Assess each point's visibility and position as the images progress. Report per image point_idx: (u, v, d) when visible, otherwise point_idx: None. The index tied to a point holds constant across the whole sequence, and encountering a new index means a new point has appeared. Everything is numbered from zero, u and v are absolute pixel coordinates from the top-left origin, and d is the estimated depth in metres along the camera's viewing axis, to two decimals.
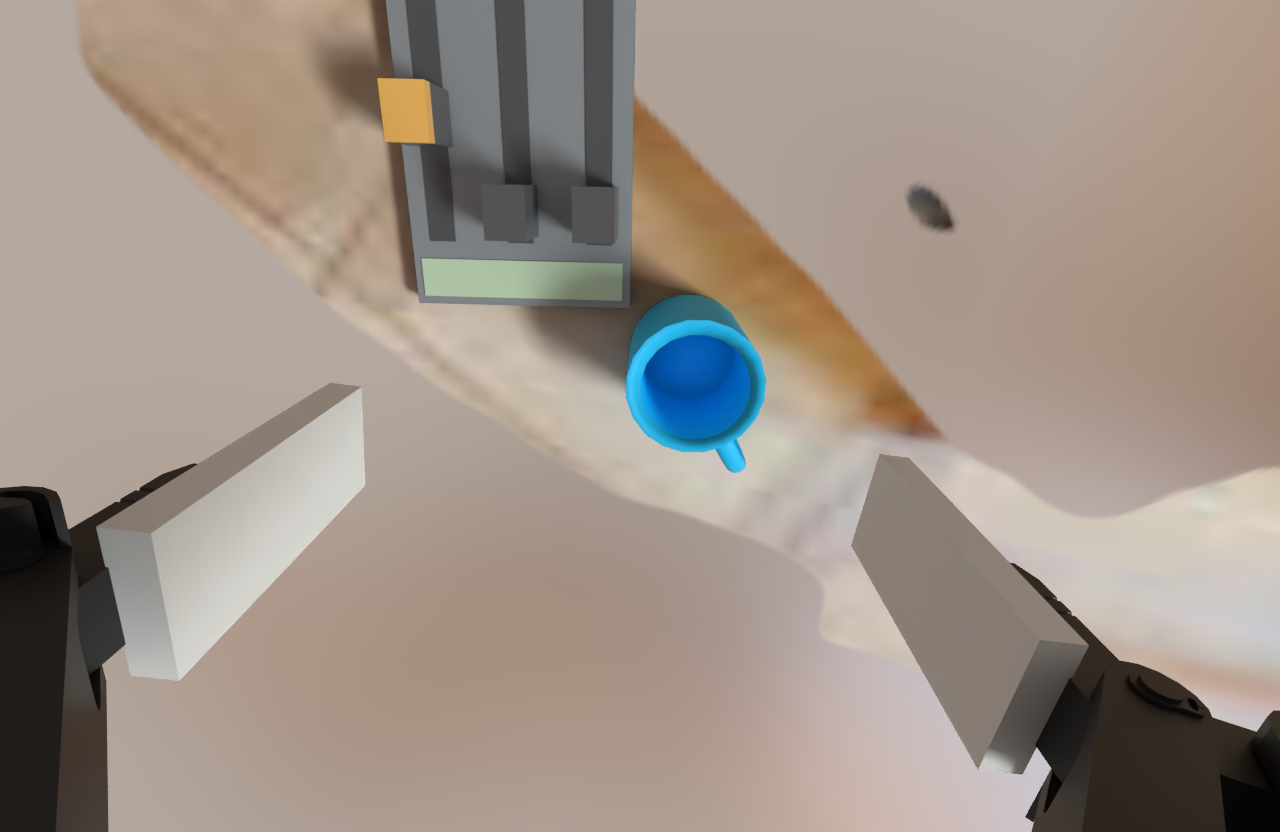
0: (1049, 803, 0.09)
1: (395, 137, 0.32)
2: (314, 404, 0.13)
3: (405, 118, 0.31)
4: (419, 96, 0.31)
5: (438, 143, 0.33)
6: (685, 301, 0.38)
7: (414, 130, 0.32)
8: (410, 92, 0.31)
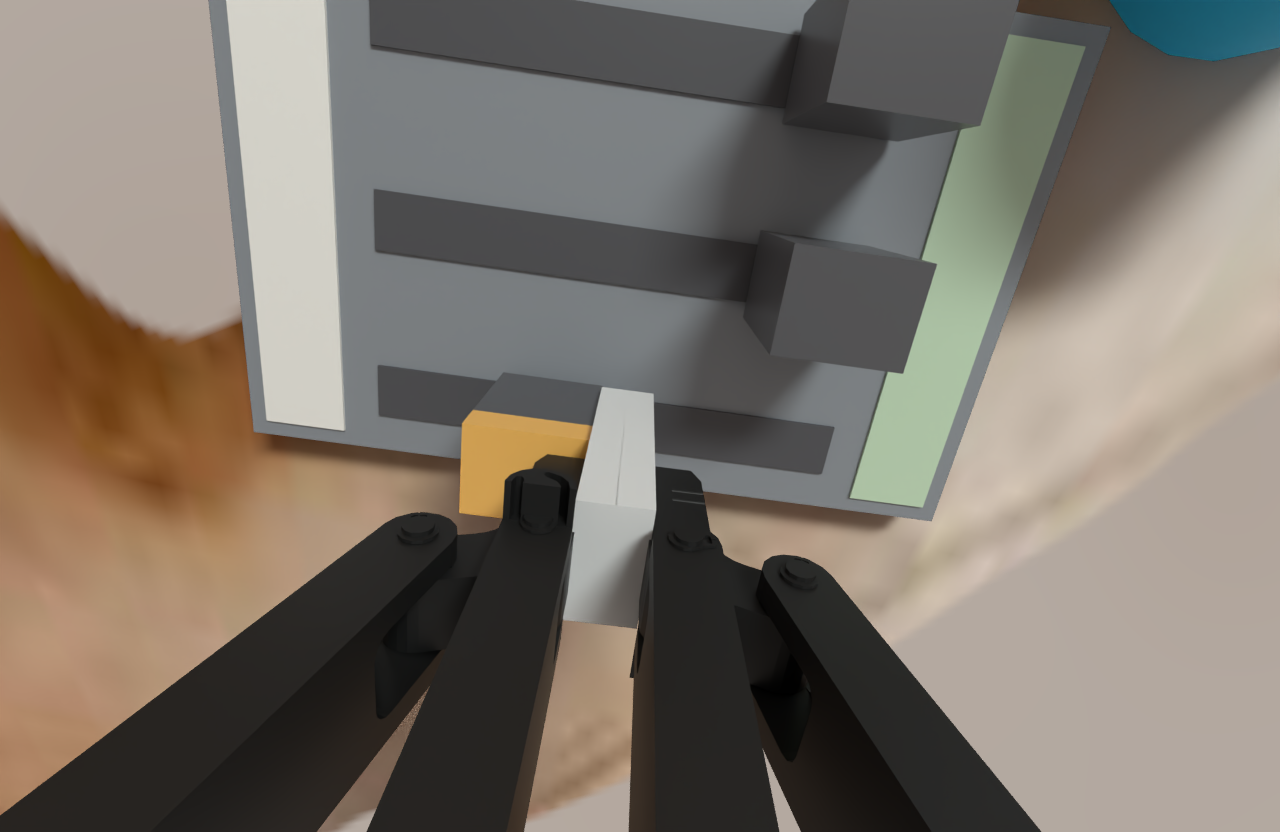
0: (640, 662, 0.10)
1: None
2: (610, 404, 0.15)
3: None
4: (496, 438, 0.14)
5: (594, 417, 0.15)
6: None
7: None
8: (487, 455, 0.14)
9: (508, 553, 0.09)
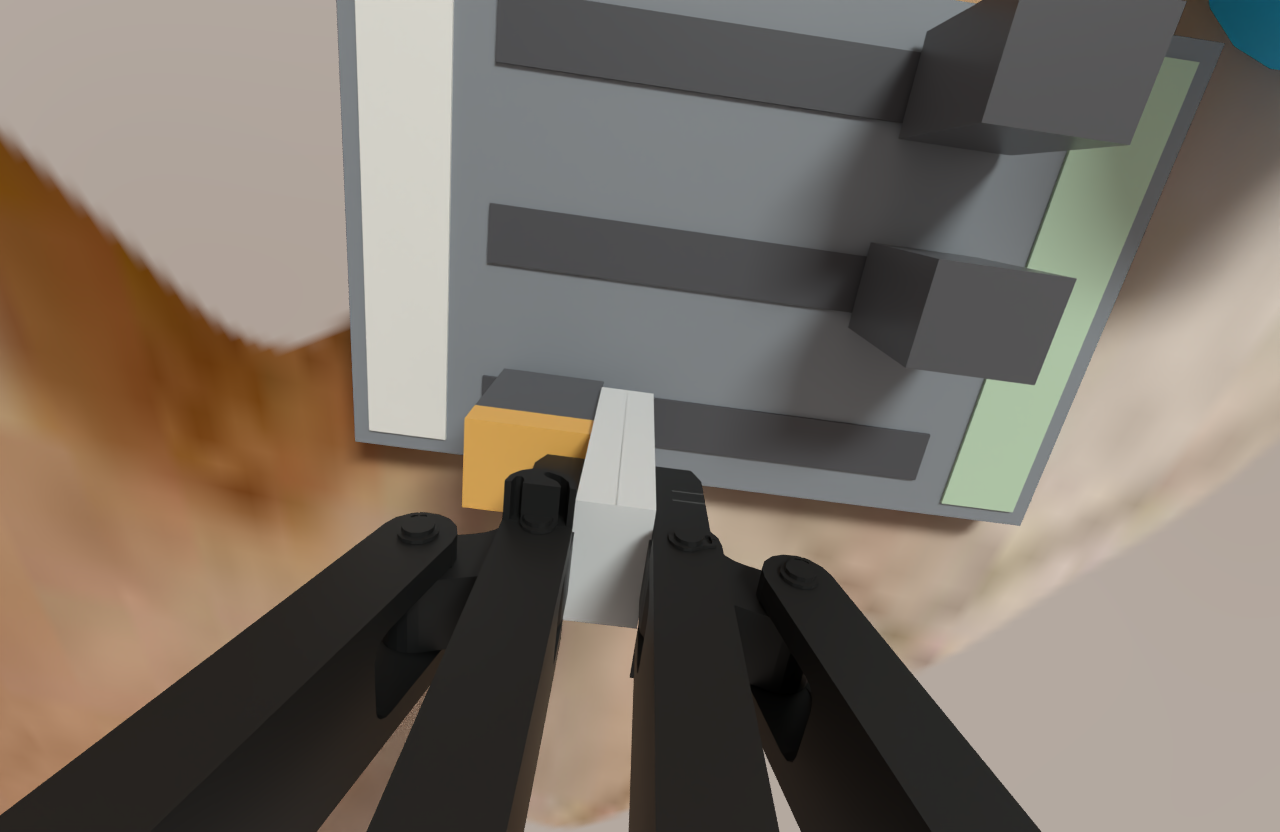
0: (640, 662, 0.10)
1: None
2: (610, 405, 0.15)
3: None
4: (498, 432, 0.14)
5: (594, 412, 0.15)
6: None
7: None
8: (490, 450, 0.14)
9: (508, 553, 0.09)
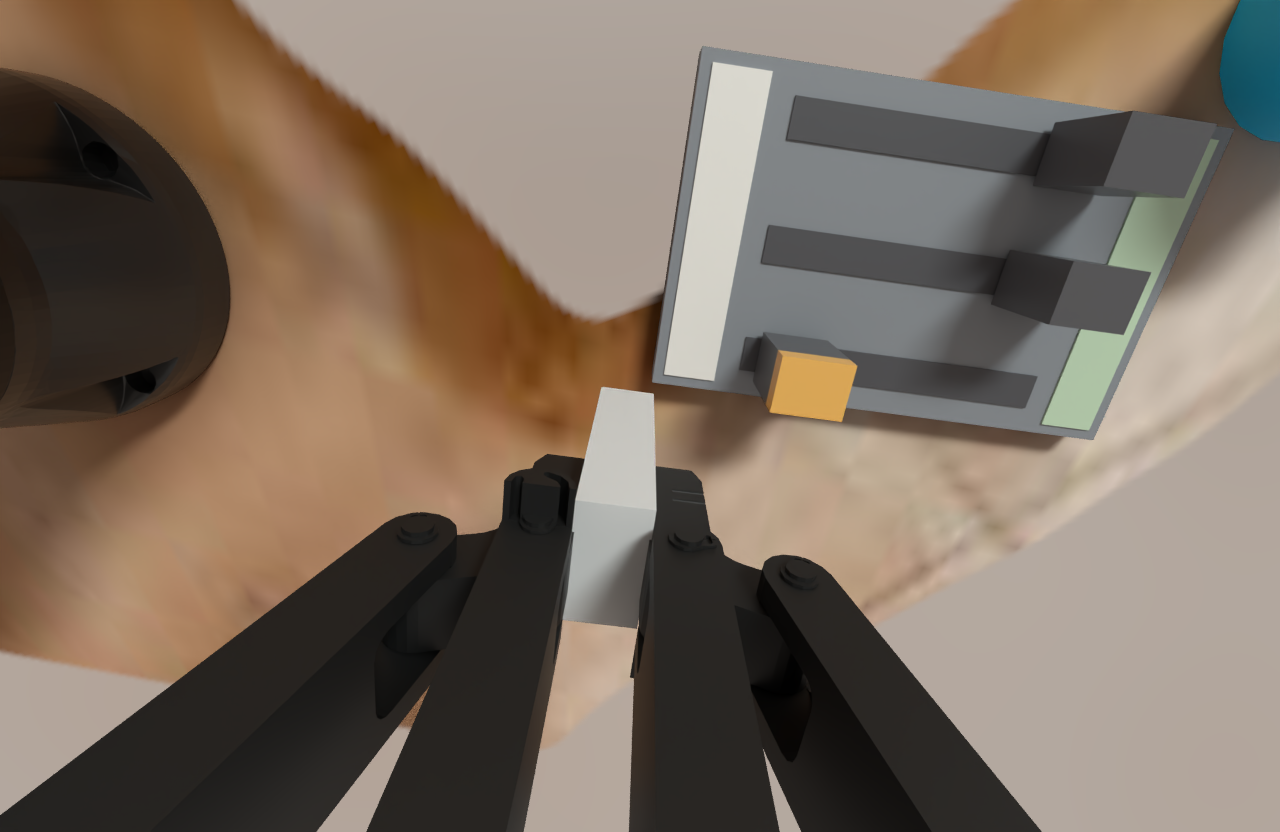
0: (640, 662, 0.10)
1: (840, 407, 0.24)
2: (610, 404, 0.15)
3: (821, 389, 0.24)
4: (801, 365, 0.23)
5: (844, 355, 0.25)
6: None
7: (838, 381, 0.24)
8: (793, 376, 0.24)
9: (508, 553, 0.09)
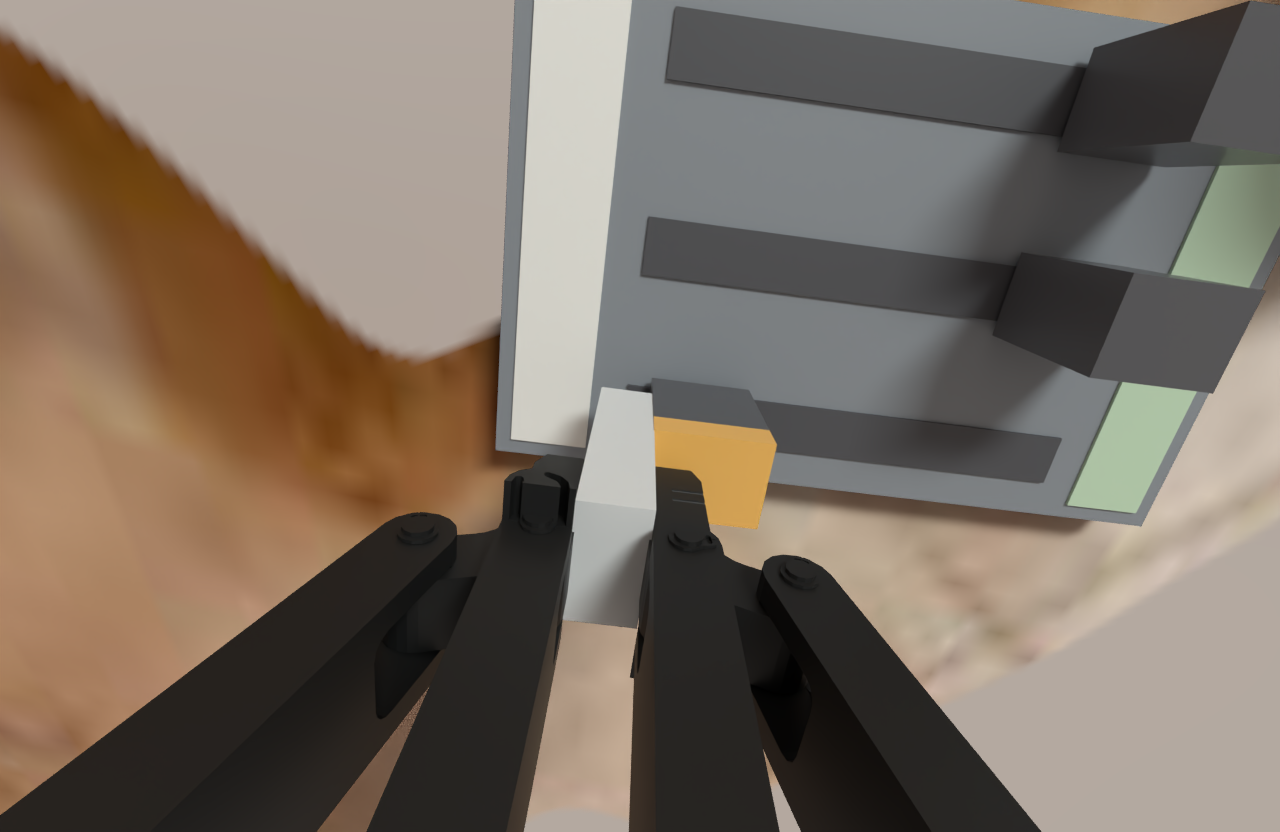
0: (640, 662, 0.10)
1: (753, 508, 0.15)
2: (610, 405, 0.15)
3: (721, 481, 0.15)
4: (685, 444, 0.14)
5: (763, 421, 0.16)
6: None
7: (747, 469, 0.15)
8: (675, 460, 0.15)
9: (508, 553, 0.09)
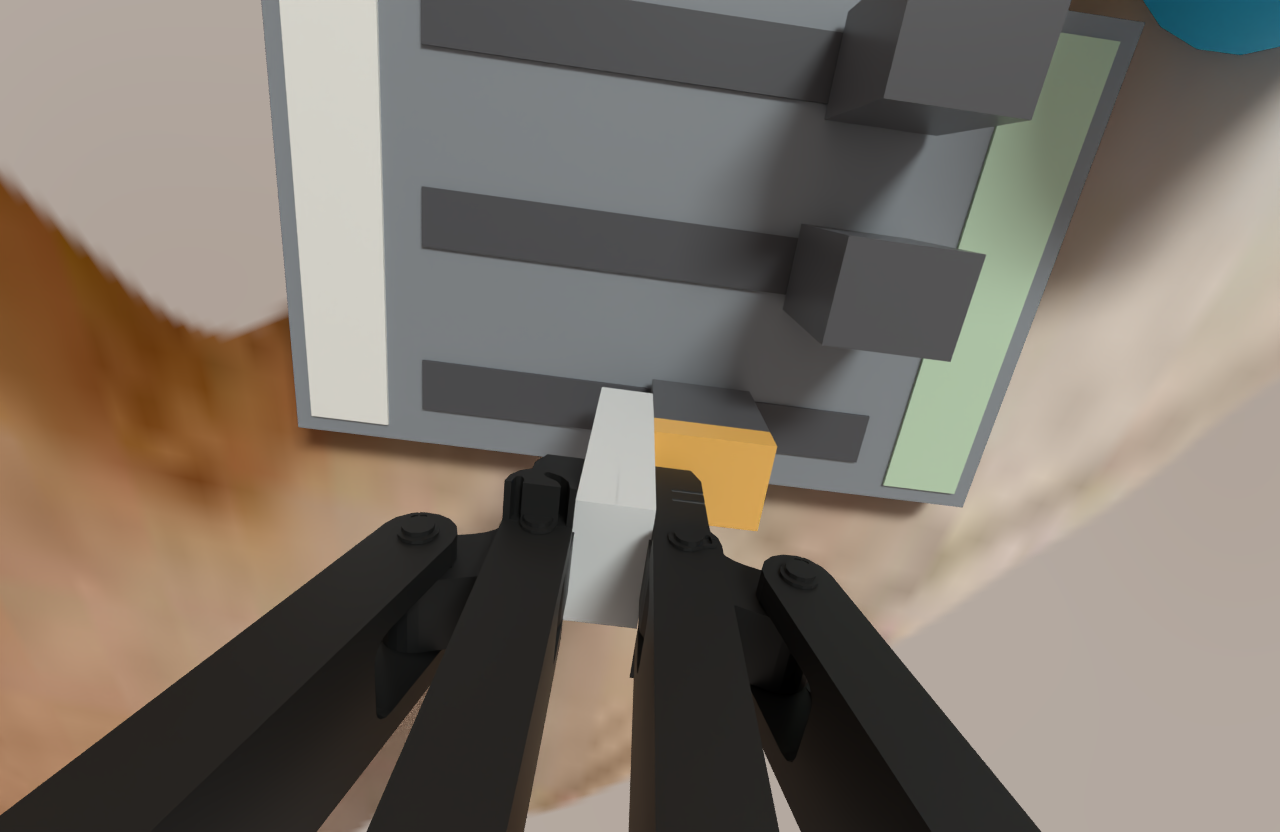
0: (640, 662, 0.10)
1: (753, 510, 0.15)
2: (610, 404, 0.15)
3: (721, 482, 0.15)
4: (685, 446, 0.14)
5: (763, 423, 0.16)
6: None
7: (747, 470, 0.15)
8: (675, 462, 0.15)
9: (508, 553, 0.09)
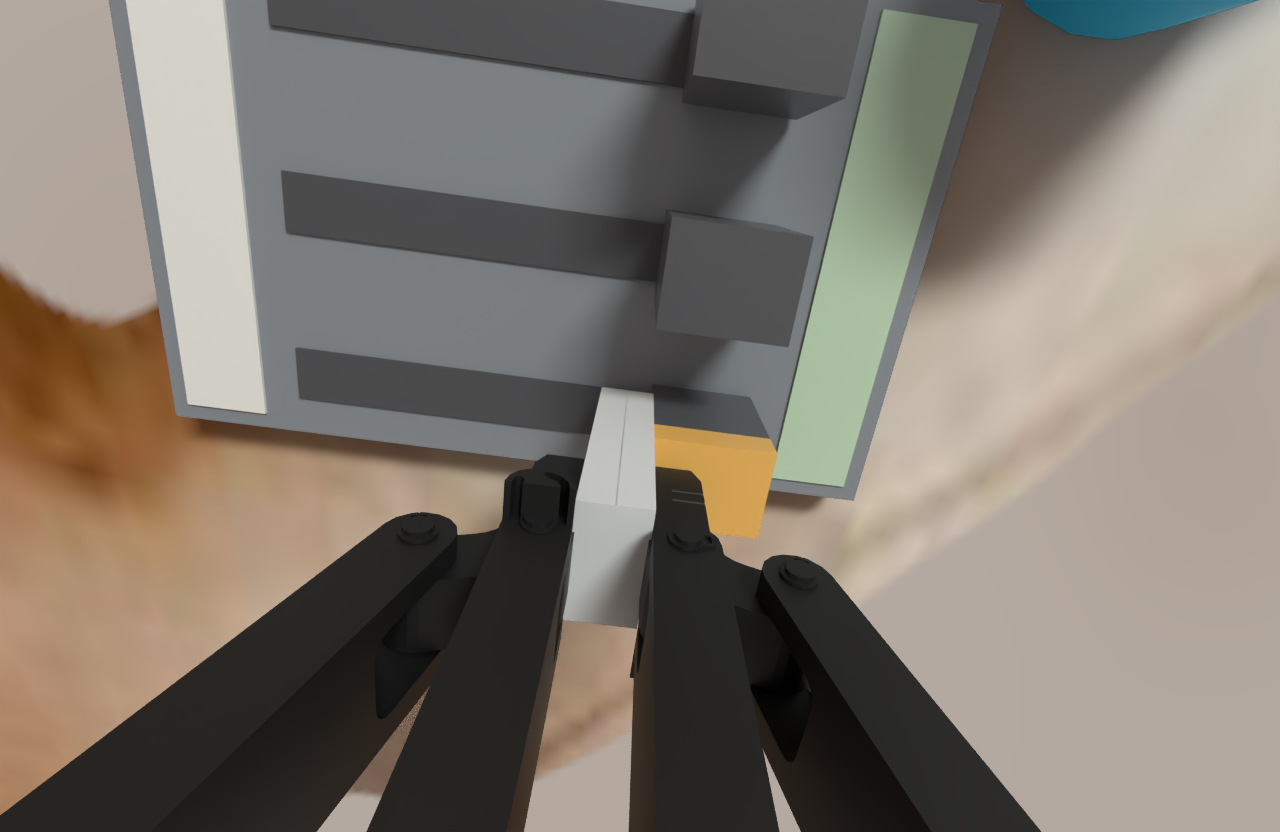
0: (640, 662, 0.10)
1: (753, 517, 0.15)
2: (610, 405, 0.15)
3: (721, 489, 0.15)
4: (685, 452, 0.14)
5: (764, 429, 0.16)
6: None
7: (747, 478, 0.14)
8: (674, 468, 0.14)
9: (508, 553, 0.09)
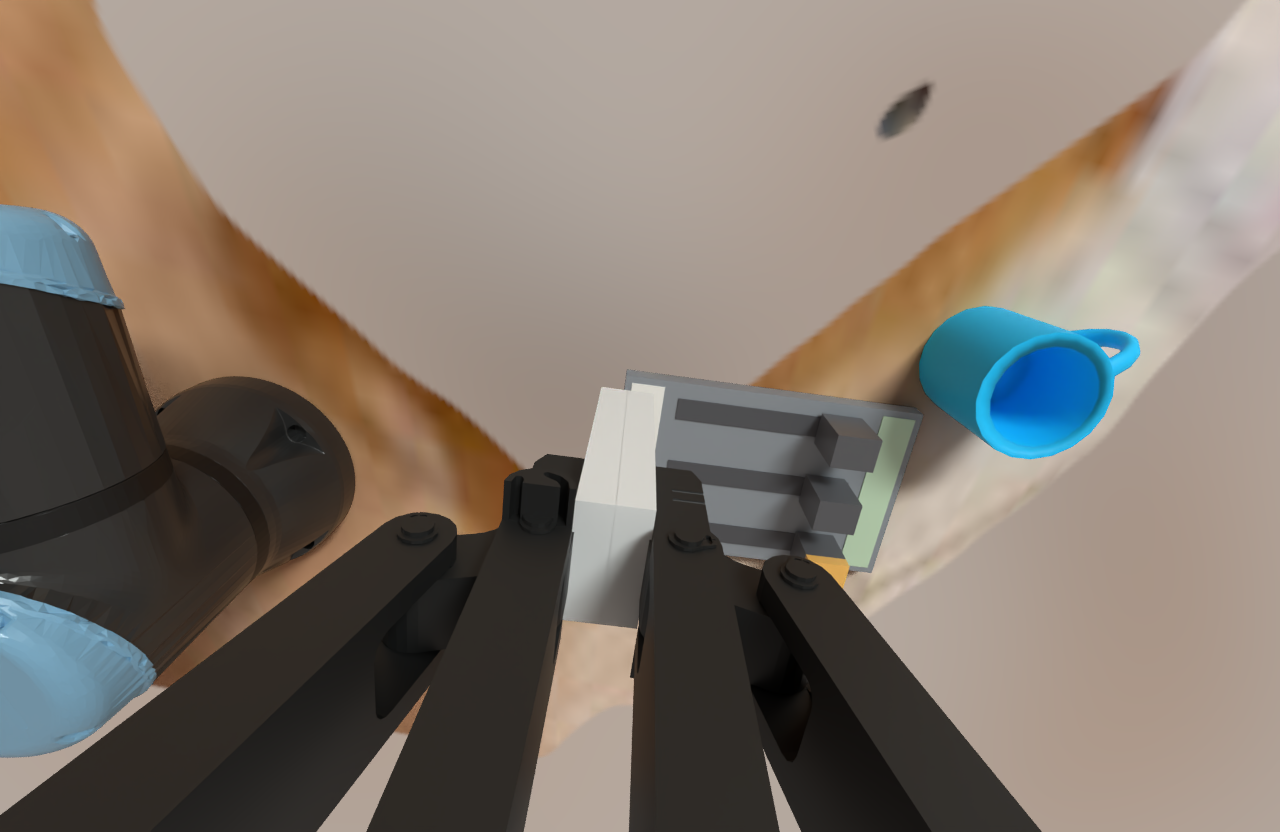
0: (640, 662, 0.10)
1: None
2: (610, 405, 0.15)
3: None
4: None
5: (842, 554, 0.44)
6: (935, 370, 0.41)
7: (839, 574, 0.43)
8: None
9: (508, 553, 0.09)
